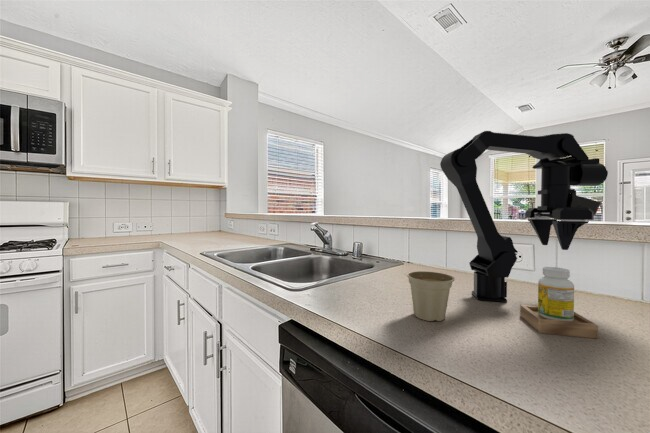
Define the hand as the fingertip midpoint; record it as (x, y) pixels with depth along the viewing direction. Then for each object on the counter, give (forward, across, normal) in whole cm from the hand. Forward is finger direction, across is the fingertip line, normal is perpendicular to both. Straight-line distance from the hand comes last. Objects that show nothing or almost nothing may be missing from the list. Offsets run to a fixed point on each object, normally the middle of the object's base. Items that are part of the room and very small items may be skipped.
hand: (554, 247), depth 70 cm
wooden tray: (+13, -20, +9) cm, 25 cm away
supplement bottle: (+12, -20, +9) cm, 25 cm away
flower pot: (+13, -21, +32) cm, 41 cm away
